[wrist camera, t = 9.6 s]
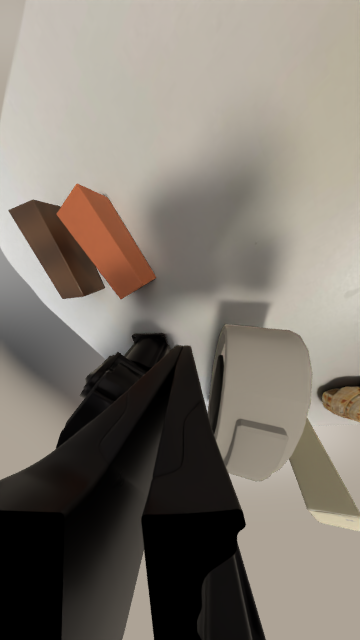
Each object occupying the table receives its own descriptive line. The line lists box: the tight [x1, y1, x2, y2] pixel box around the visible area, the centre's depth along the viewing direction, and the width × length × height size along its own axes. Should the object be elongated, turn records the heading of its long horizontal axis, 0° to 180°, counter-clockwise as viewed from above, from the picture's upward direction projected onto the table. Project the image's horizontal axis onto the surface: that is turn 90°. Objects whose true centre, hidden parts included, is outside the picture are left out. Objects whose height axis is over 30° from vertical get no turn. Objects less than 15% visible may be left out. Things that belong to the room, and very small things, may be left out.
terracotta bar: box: [57, 184, 156, 299], centre depth 16 cm, size 10×4×4 cm, turn 31°
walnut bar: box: [8, 200, 105, 299], centre depth 17 cm, size 10×4×4 cm, turn 10°
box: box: [289, 418, 360, 531], centre depth 19 cm, size 5×4×13 cm
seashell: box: [322, 386, 360, 422], centre depth 20 cm, size 8×6×8 cm
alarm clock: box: [208, 324, 312, 481], centre depth 18 cm, size 23×6×13 cm, turn 1°
